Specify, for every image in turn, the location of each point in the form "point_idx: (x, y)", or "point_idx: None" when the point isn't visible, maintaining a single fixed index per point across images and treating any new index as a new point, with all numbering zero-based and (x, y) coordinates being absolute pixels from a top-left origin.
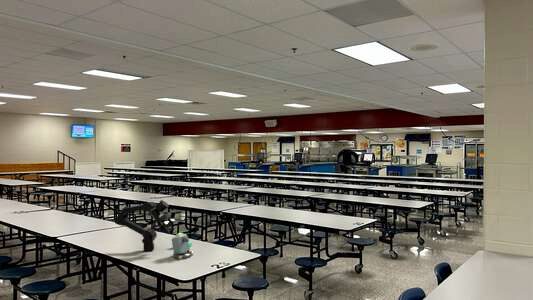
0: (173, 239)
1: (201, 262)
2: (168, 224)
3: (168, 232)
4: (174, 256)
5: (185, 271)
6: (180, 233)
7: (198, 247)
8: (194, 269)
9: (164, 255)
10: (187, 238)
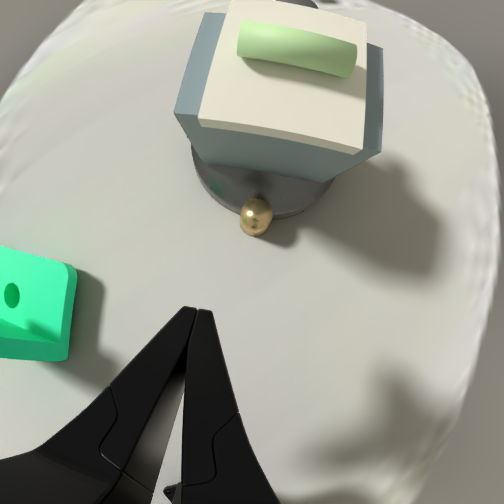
0: (379, 120)
1: None
2: (19, 483)
3: (217, 336)
4: None
5: (436, 65)
6: (276, 25)
7: (20, 184)
8: (402, 42)
9: (288, 310)
10: (292, 1)
